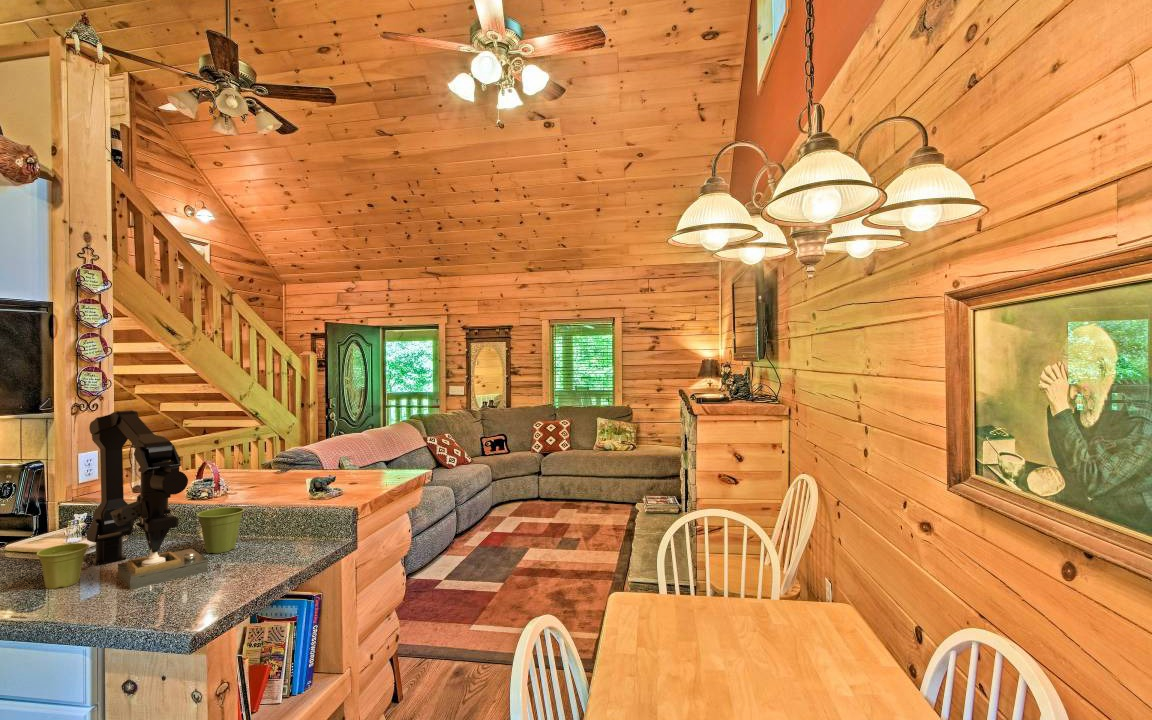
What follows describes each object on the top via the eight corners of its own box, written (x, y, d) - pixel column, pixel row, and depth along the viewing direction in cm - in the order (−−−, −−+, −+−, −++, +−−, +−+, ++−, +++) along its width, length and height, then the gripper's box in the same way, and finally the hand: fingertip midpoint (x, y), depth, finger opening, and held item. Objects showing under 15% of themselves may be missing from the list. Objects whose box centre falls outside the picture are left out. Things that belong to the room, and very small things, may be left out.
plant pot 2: (253, 547, 163) (253, 509, 164) (211, 559, 153) (211, 518, 153) (229, 541, 169) (229, 504, 169) (187, 553, 158) (187, 513, 159)
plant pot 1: (98, 577, 139) (99, 543, 140) (60, 592, 130) (60, 555, 130) (65, 576, 140) (65, 542, 140) (24, 591, 131) (25, 554, 131)
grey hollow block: (117, 575, 141) (117, 557, 141) (191, 559, 153) (191, 542, 153) (130, 589, 132) (130, 570, 132) (207, 571, 144) (207, 553, 144)
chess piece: (146, 567, 137) (146, 527, 138) (137, 564, 140) (138, 524, 140) (169, 562, 142) (169, 522, 142) (160, 558, 144) (161, 520, 144)
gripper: (106, 490, 141) (105, 551, 141) (122, 501, 129) (121, 568, 129) (159, 483, 150) (158, 541, 149) (179, 493, 137) (178, 556, 137)
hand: (153, 551), depth 141 cm, fingers closed on chess piece
